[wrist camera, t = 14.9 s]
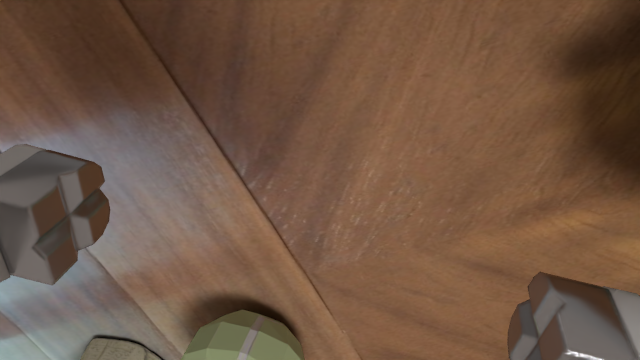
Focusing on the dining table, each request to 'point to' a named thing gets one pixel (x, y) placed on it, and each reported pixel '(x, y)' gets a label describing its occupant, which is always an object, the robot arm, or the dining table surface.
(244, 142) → the dining table surface
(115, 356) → the sculpture
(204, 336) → the tennis ball
